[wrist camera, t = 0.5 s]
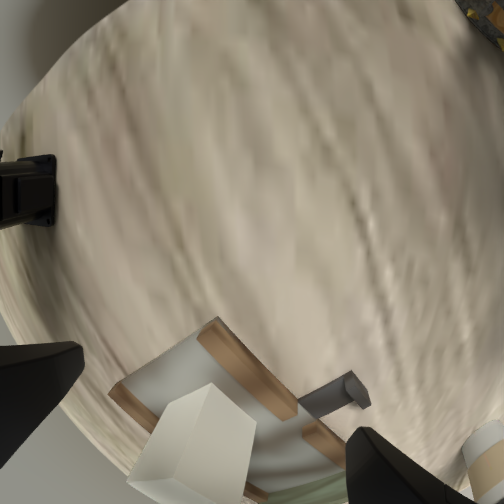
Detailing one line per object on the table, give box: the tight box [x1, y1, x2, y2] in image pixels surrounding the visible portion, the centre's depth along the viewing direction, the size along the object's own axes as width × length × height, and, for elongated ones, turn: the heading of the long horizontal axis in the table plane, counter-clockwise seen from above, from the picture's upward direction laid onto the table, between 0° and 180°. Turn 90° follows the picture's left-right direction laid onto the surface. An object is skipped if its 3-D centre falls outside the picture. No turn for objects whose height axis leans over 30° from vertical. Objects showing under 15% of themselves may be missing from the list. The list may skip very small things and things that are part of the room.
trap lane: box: [108, 316, 371, 504], centre depth 22 cm, size 26×26×5 cm
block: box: [126, 383, 257, 504], centre depth 18 cm, size 6×6×10 cm
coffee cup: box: [462, 419, 504, 504], centre depth 14 cm, size 9×9×15 cm
